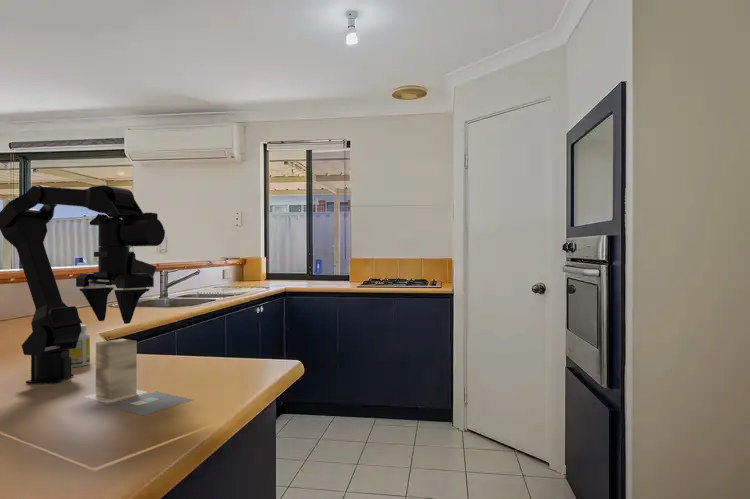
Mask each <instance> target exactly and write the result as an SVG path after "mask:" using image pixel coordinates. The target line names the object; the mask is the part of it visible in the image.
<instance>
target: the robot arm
mask: <svg viewBox="0 0 750 499" xmlns="http://www.w3.org/2000/svg"><path fill="white" fill-rule="evenodd" d="M37 205H42V206H41V208H40V209H37V208H35V207H36V206H37ZM57 206H69V207H81V208H86V209H87V210H90V211H93V212H96V213H98V214H97V215H96V216H95V217H94V218H93V219H91V221H89V225H90V226H96V227H97V226H98V227H97V228H98V229H97V230H98V231H97V232H98V233H97V235H98V238H97V239H98V245H97V246H98V247H97V251H93V257H94V258H98V259H97V260H98V261H97V262H98V263H97V264H98V265H97V266H98V269H97V270H98V271H93V272H91V273H89V272H87V273H86V272H85V273H80V274H78V276H76V277H75V286H76V287H77V288H79V291H80V292H81V293H82V294H83V295H84V298H85V299H86V301H87V303H89V304H88V305H89V306H90V308H91V310H92V311H93V313H94V314H95V317H96V318H97V320H98V321H99V322H104V321H105V320H106V314H107V306H108V299H109V298H108V297H109V295H110V294H111V292H112V291H113V290H114V294H115V298H116V302H117V305H118V307H119V308H118V309H119V312H120V314H121V319H122V320H123V324H125V325H127V324H128V325H129V324H130V323H131V322H132V318H133V316H134V314H135V310H136V307H137V304H138V302H139V300H140V298H141V297H142V296H143V295H144V294H145V293H147V292H149V291H150V290H151V289H150V288H154V287H155V282H154V281H155V278H154V277H155V274H156V271H157V270H156V269H157V266H155V265H153V264H150V263H148V262H145V261H142V260H139V259H137V258H136V253H135V251H131V250H130V247H157V246H160V245H161V244H162V243H163V242H164V239H165V236H166V235H165V234H166V230H165V228H164V226H163V224H162V222H161V221H160V219H158V217H159V216H158V215H159V214H158V213H157V212H144V211H143V210H142V209H141V207H140V205H139V203H138V202H137V201H136V199H135V196H134V193H132V190H130V189H128V188H122V187H117V186H113V185H105V184H101V185H94V186H90V187H88V188H84V189H83V188H82V189H81V188H68V187H53V186H47V185H40V184H38V185H37V184H36V185H32V186H31V187H30V188H29V189H28V190H27V191H26V192H25V193H23V194H21V195H19V196H17V197H15V198H13V199H11V200H10V201H8V202H7V203H6V205H5V206H4V207H3V208H2V209H1V210H0V232H1V234H2V237H3V238H4V239H5V240H6V241H7V242H8V243H10V244H11V245H12V246H13V247H14V248H15V249H16V252H17V253H18V254H17V255H18V258H19V260H20V264H21V267H22V269H23V273H24V276H25V277H24V278H25V279H26V283H27V285H28V286H27V287H28V289H29V293H30V295H31V299H32V301H33V304H34V307H35V312H34V315H33V317H32V318H31V319H32V320H31V321H30V322H31V323H30V324H31V329H32V332H31V333H30V334H29V336H27V337H26V339H25V340H24V342H23V343H22V344H21V348H22V352H23V355H24V356H30V379H28V380H26V381H25V384H31V385H32V384H58V383H60V382H63V381H65V380H67V379H70V378H72V377H74V375H75V374H74V373H72V367H71V357H69V350H68V349H74V348H76V345H77V342H78V339H79V335H80V333H81V325H82V323H83V321H82V320H81V319H80V316H79V311H78V308H77V307H76V306H75V305H71V306H68V305H66V303H64V302H63V299H62V295H61V293H60V290H59V287H58V284H57V280H56V277H55V275H54V272H53V269H52V265H51V263H50V259H49V257H48V253H47V250H46V246H45V245H44V241H45V239H46V237H47V234H48V226H47V224H48V223H50V221H51V220H52V219H53V218H54V213H55V208H56V207H57ZM34 208H35V209H34ZM112 285H113V286H114V287H113V286H112ZM115 287H116V289H115Z"/></svg>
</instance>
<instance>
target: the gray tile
mask: <svg viewBox="0 0 750 499" xmlns="http://www.w3.org/2000/svg"><path fill="white" fill-rule="evenodd" d="M192 401H194V399H192V398H187V397H183V396H178V395H174V394H169V393H165V392H160V391H153V392H150V393H149V392H148V393H144V394H141V395H137V396H133V397H130V398H126V399H122V400H118V401H115V402H111V403H107V404H106V405H104V406H105V407H109V408H113V409H116V410H120V411H123V412H127V413H132V414H135V415H139V416H146V415H149V414H152V413H157V412H159V411H163V410H166V409H169V408H173V407H176V406H179V405H181V404H184V403H188V402H192Z"/></svg>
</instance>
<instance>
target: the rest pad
mask: <svg viewBox="0 0 750 499" xmlns="http://www.w3.org/2000/svg"><path fill="white" fill-rule="evenodd" d="M145 394H149V391H145V390H141V389H137V393H134V394H131V395H127V396H123V397H119V398H115V399H111V400H110V399H106V398H102V397H98V396H96V393H93V394H88V395H85V396H83V398H85V399H90V400H94V401H97V402H102V403H105V404H111V403H115V402H119V401H122V400H126V399H130V398H134V397H137V396H141V395H145Z"/></svg>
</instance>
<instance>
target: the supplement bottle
mask: <svg viewBox="0 0 750 499" xmlns="http://www.w3.org/2000/svg"><path fill="white" fill-rule="evenodd" d="M80 325H81V333H80V335H79V339H78V342H77V345H76V348H74V349H68V350H69V357H71V368H79V367H83V366H88V365H90V363H91V357H90V356H91V355H90V354H91V353H90V352H91V351H90V350H91V349H90V347H91V346H90V342H91V341H90V334H88V333H86V331H87V325H86V324H80Z"/></svg>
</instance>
